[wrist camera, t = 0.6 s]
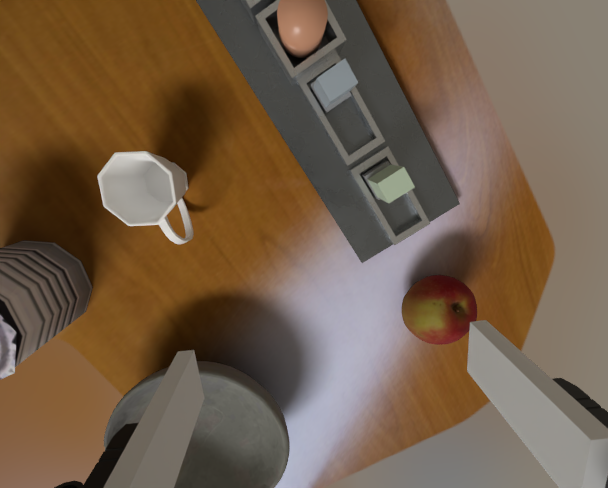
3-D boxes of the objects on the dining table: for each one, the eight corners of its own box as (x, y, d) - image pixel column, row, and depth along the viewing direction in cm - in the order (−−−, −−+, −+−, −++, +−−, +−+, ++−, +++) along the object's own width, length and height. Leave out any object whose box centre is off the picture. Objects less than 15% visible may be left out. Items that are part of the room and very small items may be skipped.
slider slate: (310, 86, 34) (314, 73, 28) (333, 70, 34) (342, 53, 28) (325, 113, 35) (332, 105, 29) (348, 97, 34) (360, 86, 28)
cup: (180, 137, 36) (149, 134, 28) (225, 219, 39) (208, 237, 31) (124, 165, 37) (79, 170, 29) (172, 244, 39) (142, 268, 32)
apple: (463, 306, 43) (500, 340, 35) (404, 331, 44) (429, 370, 36) (445, 255, 41) (480, 280, 33) (383, 282, 42) (404, 312, 34)
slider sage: (361, 174, 37) (375, 179, 31) (383, 160, 36) (402, 163, 30) (375, 197, 37) (390, 207, 31) (396, 184, 37) (417, 190, 31)
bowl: (193, 483, 49) (175, 544, 42) (99, 382, 44) (59, 432, 37) (316, 420, 47) (321, 473, 39) (232, 306, 42) (219, 341, 34)
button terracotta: (270, 25, 30) (267, 5, 26) (307, -2, 30) (310, -27, 26) (294, 66, 31) (295, 53, 27) (330, 41, 31) (337, 23, 27)
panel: (184, -18, 32) (165, -48, 27) (297, -107, 31) (298, -154, 26) (360, 260, 41) (369, 275, 36) (455, 202, 39) (478, 209, 34)
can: (113, 298, 41) (42, 356, 29) (42, 341, 42) (-53, 414, 31) (47, 220, 38) (-60, 251, 27) (-27, 269, 39) (-159, 319, 28)
